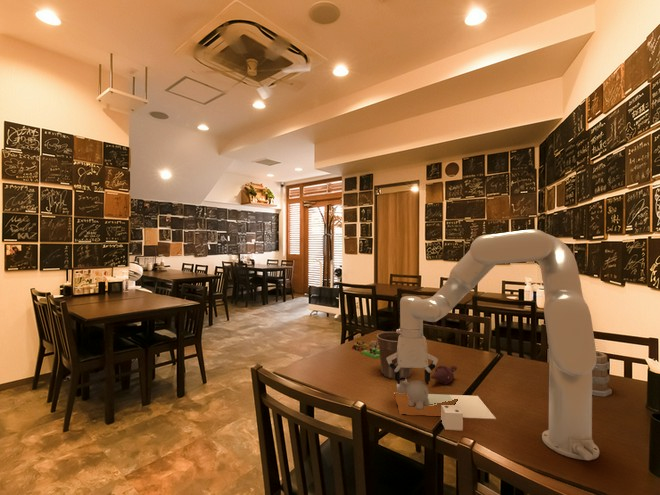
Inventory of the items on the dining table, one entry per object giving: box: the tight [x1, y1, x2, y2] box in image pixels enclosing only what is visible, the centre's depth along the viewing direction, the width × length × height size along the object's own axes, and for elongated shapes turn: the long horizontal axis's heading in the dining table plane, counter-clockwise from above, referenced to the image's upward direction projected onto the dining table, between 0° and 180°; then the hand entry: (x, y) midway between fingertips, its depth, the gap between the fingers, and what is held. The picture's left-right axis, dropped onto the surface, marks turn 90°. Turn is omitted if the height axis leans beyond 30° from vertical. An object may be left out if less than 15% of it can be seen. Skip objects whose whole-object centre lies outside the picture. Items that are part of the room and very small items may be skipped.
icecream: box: [430, 365, 458, 385], centre depth 133 cm, size 7×7×15 cm
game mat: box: [393, 392, 497, 420], centre depth 114 cm, size 16×30×1 cm, turn 86°
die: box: [440, 405, 464, 431], centre depth 101 cm, size 5×5×5 cm
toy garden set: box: [351, 340, 380, 360], centre depth 175 cm, size 23×19×5 cm
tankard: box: [547, 349, 613, 398], centre depth 128 cm, size 20×13×15 cm, turn 74°
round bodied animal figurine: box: [396, 378, 429, 410], centre depth 115 cm, size 7×12×8 cm, turn 41°
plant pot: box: [376, 331, 412, 380], centre depth 142 cm, size 16×16×16 cm
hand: (412, 382), depth 114 cm, fingers open, 9 cm apart
